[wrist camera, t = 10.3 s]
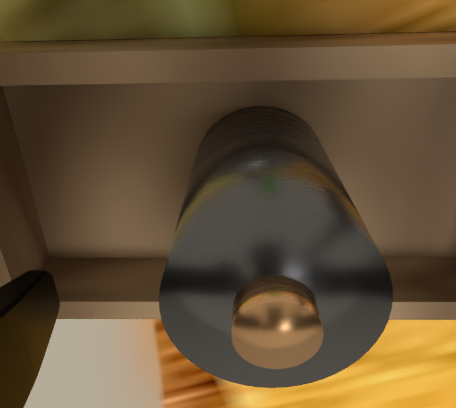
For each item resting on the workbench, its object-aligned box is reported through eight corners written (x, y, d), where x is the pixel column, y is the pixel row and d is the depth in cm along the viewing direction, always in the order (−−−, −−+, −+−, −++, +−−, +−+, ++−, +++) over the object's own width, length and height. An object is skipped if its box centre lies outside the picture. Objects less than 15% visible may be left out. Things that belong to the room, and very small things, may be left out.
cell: (319, 226, 15) (385, 419, 8) (198, 226, 15) (164, 416, 8) (330, 104, 13) (431, 228, 6) (190, 106, 13) (136, 229, 6)
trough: (553, 29, 12) (647, 40, 9) (478, 263, 16) (527, 319, 13) (-22, 42, 13) (-95, 56, 10) (42, 264, 17) (2, 318, 14)
